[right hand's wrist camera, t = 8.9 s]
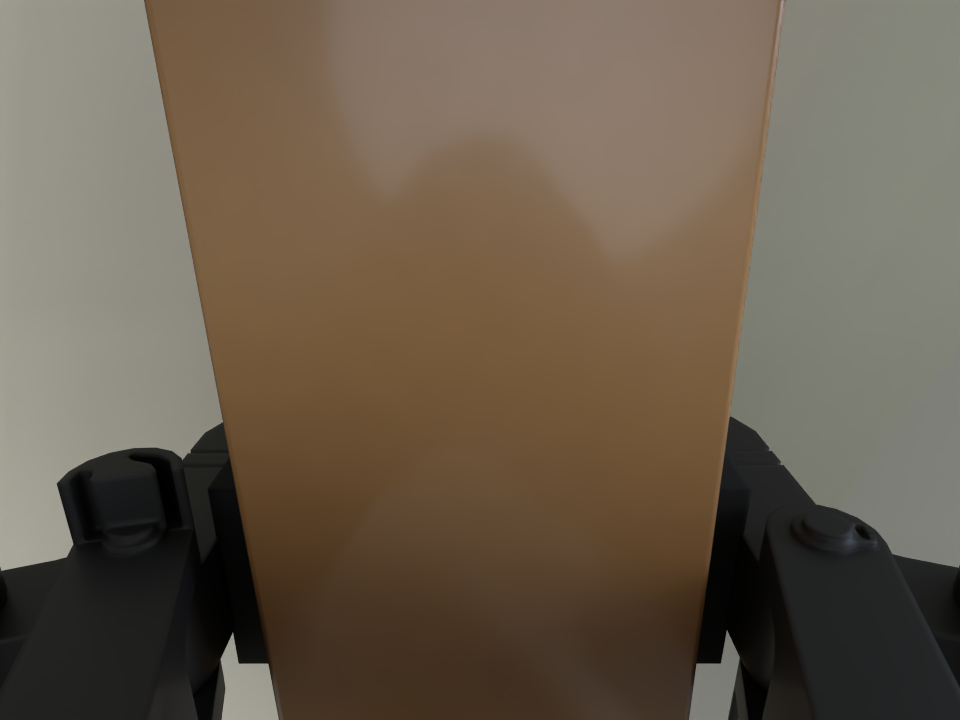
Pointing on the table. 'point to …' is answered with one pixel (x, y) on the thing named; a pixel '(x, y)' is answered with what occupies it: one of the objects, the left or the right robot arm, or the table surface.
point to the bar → (473, 333)
